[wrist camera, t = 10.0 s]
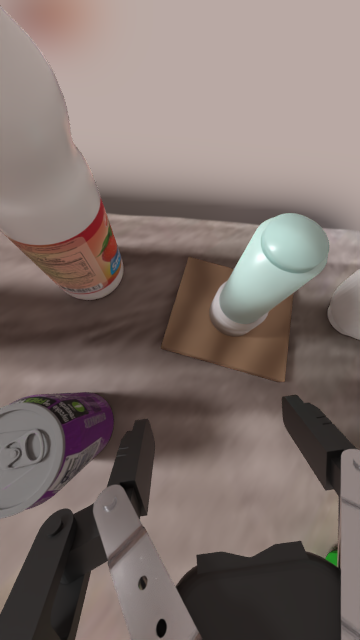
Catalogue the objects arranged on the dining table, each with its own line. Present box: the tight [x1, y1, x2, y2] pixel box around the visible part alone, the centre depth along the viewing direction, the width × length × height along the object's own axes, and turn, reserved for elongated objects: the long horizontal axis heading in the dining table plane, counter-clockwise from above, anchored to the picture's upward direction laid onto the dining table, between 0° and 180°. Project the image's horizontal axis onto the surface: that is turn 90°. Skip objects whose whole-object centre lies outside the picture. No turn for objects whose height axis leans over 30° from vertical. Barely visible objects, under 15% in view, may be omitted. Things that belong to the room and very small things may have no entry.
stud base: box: [161, 257, 293, 382], centre depth 27 cm, size 16×14×6 cm
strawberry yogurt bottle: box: [0, 6, 123, 300], centre depth 17 cm, size 9×9×28 cm
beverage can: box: [0, 392, 114, 518], centre depth 18 cm, size 7×7×12 cm
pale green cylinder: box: [219, 213, 329, 324], centre depth 19 cm, size 5×5×11 cm
